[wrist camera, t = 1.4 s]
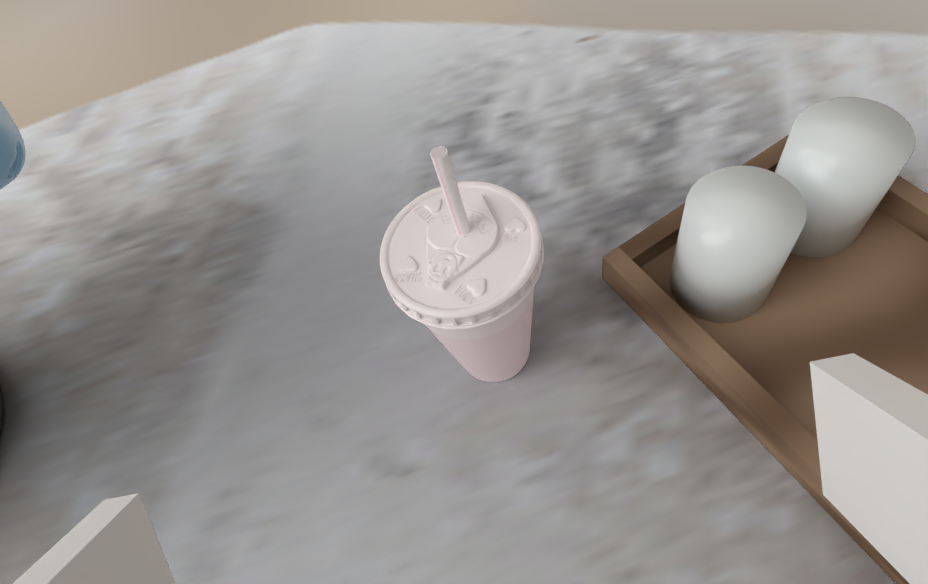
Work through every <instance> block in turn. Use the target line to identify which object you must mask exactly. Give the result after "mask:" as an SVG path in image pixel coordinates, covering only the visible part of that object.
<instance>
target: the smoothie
mask: <svg viewBox="0 0 928 584" xmlns="http://www.w3.org/2000/svg"><path fill="white" fill-rule="evenodd" d="M430 155H431V158H432V161H433V164H434V167H435V170H436V173H437V176H438V179H439V182H440V185H441V186H439V187H436V188H434V189H431V190H429V191H427V192H425V193H423V194H422V195H420V196H418V197H417V198H415V199H414V200H412V201H411V202H410V203H408V204H407V205H406V206H405V207H404V208H403V209H402V210H401V211H400V212H399V213H398V214H397V215H396V216H395V218H394V219H393V220H392V222H391V223H390V225H389V227H388V228H387V230H386V232H385V235H384V237H383V240H382V244H381V248H380V257H379V258H380V269H381V273H382V277H383V279H384V281H385V283H386V286H387V289H388V291H389V293H390V295H391V297H392V298H393V300H394V302H395V304H396V305H397V306H398V307H399V308H400V309H401V310H402V311H403V312H405V313H406V314H407V315H408V316H409V317H410V318H412V319H414V320H416V321H418V322H420V323H422V324H424V325H426V326H427V327H428V328H429V330H430V331H431V332H432V333H433V334H434V335H435V336H436V337H437V338H438V340H439V341H440V342H441V343H442V344H443V345H444V346H445V347H446V348H447V350H448V351H449V352H450V353H451V354H452V355H453V356H454V357H455V358H456V360H457V361H458V362H459V363H460V364H461V365H462V366H463V367H464V368H465V370H466V371H467V372H468V373H469V374H470V375H472V376H473V377H474V378H476V379H478V380H481V381H484V382H501V381H505V380H508V379H510V378H512V377H513V376H515V375H516V374H517V373H519V372H520V371H521V370H522V368H523V367H524V366H525V364H526V362H527V360H528V357H529V353H530V341H531V326H532V312H533V298H534V286H535V284H536V283H537V281H538V279H539V277H540V273H541V270H542V266H543V263H544V241H543V239H542V236H541V231H540V227H539V223H538V221H537V218H536V216H535V214H534V212H533V211H532V209H531V208H530V207H529V205H528V204H527V203H526V202H525V201H524V200H523V199H522V198H521V197H519V196H518V195H517V194H515V193H514V192H512V191H510V190H508V189H506V188H504V187H501V186H499V185H495V184H492V183H487V182H479V181H463V182H456V179H455V175H454V172H453V169H452V165H451V162H450V159H449V155H448V152H447V149H446V148H445V147H443V146H438V147H435V148H433V149H432V151H431V152H430Z"/></svg>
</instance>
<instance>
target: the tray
mask: <svg viewBox="0 0 928 584" xmlns="http://www.w3.org/2000/svg"><path fill="white" fill-rule="evenodd" d="M788 137H789V135H788V136H786V137H785V138H783V139H782V140H780V141H779V142H777V143H776V144H774V145H773V146H771V147H769V148H768V149H766V150H765V151H763V152H762V153H760V154H759V155H757V156H756V157H754V158H753V159H751V160H750V161H748V162H747V163H745V164H744V165H742V166H754V167H759V168H763V169H767V170H769V171H772V172H774V173H775V170H776V168H777V165H778V162H779V160H780V157H781V155H782V152H783V149H784V147H785V144H786V142H787V139H788ZM684 207H685V203H684V204H683V205H681V206H680V207H678V208H677V209H675V210H674V211H672V212H671V213H669V214H668V215H666V216H665V217H663V218H662V219H660V220H658V221H657V222H655V223H654V224H652V225H651V226H649V227H648V228H646V229H645V230H643V231H642V232H640V233H639V234H637V235H636V236H634V237H633V238H631V239H630V240H628V241H627V242H625V243H624V244H622V245H620V246H619V247H617V248H616V249H614V250H613V251H611V252H610V253H608V254H607V255H605V256H604V257H603V268H602V278H603V279H604V280H605V281H606V282H607V283H608V284H609V285H610V286H611V287H612V288H613V289H614V290H615V291H616V292H617V294H618V295H619V296H620V297H621V298H622V299H623V300H624V301H625V302H626V303H627V304H628V305H629V306H630V307H631V308H632V309H633V310H634V311H635V312H636V313H637V314H638V315H639V316H640V317H641V318H642V320H643V321H644V322H645V323H646V324H647V325H648V326H649V327H650V328H651V329H652V330H653V331H654V332H655V333H656V334H657V335H658V336H659V337H660V338H661V339H662V340H663V341H664V342H665V343H666V344H667V346H668V347H669V348H670V349H671V350H672V351H673V352H674V353H675V354H676V355H677V356H678V357H679V358H680V359H681V360H682V361H683V362H684V363H685V364H686V365H687V366H688V367H689V368H690V369H691V371H692V372H693V373H694V374H695V375H696V376H697V377H698V378H699V379H700V380H701V381H702V382H703V383H704V384H705V385H706V386H707V387H708V388H709V389H710V390H711V391H712V392H713V393H714V394H715V395H716V397H717V398H718V399H719V400H720V401H721V402H722V403H723V404H724V405H725V406H726V407H727V408H728V409H729V410H730V411H731V412H732V413H733V414H734V415H735V416H736V417H737V418H738V419H739V420H740V421H741V423H742V424H743V425H744V426H745V427H746V428H747V429H748V430H749V431H750V432H751V433H752V434H753V435H754V436H755V437H756V438H757V439H758V440H759V441H760V442H761V443H762V444H763V445H764V446H765V448H766V449H767V450H768V451H769V452H770V453H771V454H772V455H773V456H774V457H775V458H776V459H777V460H778V461H779V462H780V463H781V464H782V465H783V466H784V467H785V468H786V469H787V470H788V471H789V472H790V474H791V475H792V476H793V477H794V478H795V479H796V480H797V481H798V482H799V483H800V484H801V485H802V486H803V487H804V488H805V489H806V490H807V491H808V492H809V493H810V494H811V495H812V496H813V497H814V498H815V500H816V501H817V502H818V503H819V504H820V505H821V506H822V507H823V508H824V509H825V510H826V511H827V512H828V513H829V514H830V515H831V516H832V517H833V518H834V519H835V520H836V521H837V522H838V523H839V525H840V526H841V527H842V528H843V529H844V530H845V531H846V532H847V533H848V534H849V535H850V536H851V537H852V538H853V539H854V540H855V541H856V542H857V543H858V544H859V545H860V546H861V547H862V548H863V549H864V551H865V552H866V553H867V554H868V555H869V556H870V557H871V558H872V559H873V560H874V561H875V562H876V563H877V564H878V565H879V566H880V567H881V568H882V569H883V570H884V571H885V572H886V573H887V574H888V575H889V577H890V578H891V579H892V580H893V581H894V582H895V583H896V584H909V583H908V581H907V580H906V579H905V578H904V577H903V576H902V575H901V574H900V573H899V572H898V571H897V570H896V569H895V568H894V567H893V566H892V565H891V564H890V563H889V562H888V561H887V560H886V559H885V558H884V557H883V556H882V555H881V554H880V553H879V552H878V551H877V550H876V549H875V548H874V546H873V545H872V544H871V543H870V542H869V541H868V540H867V539H866V538H865V537H864V536H863V535H862V534H861V533H860V532H859V531H858V530H857V529H856V528H855V527H854V526H853V525H852V524H851V523H850V522H849V521H848V520H847V519H846V518H845V517H844V516H843V515H842V514H841V513H840V512H839V510H838V509H837V508H836V507H835V506H834V505H833V504H832V503H831V502H830V501H829V500H828V499H827V498H826V497H825V496H824V495H823V490H822V480H821V470H820V460H819V450H818V441H817V431H816V421H815V411H814V401H813V391H812V381H811V371H810V362H811V361H816V360H821V359H826V358H831V357H836V356H842V355H847V354H852V353H854V354H856V355H858V356H859V357H861V358H863V359H865V360H867V361H868V362H870V363H872V364H874V365H876V366H877V367H879V368H881V369H883V370H885V371H886V372H888V373H890V374H892V375H894V376H895V377H897V378H899V379H901V380H903V381H904V382H906V383H908V384H910V385H911V386H913V387H915V388H917V389H919V390H920V391H922V392H924V393H926V394H928V194H927V193H925V192H923V191H922V190H920V189H919V188H917V187H916V186H914V185H912V184H911V183H909V182H908V181H906V180H905V179H903V178H901V177H900V176H897V177H896V179H895V180H894V182H893V184H892V185H891V187H890V188H889V190H888V191H887V193H886V194H885V196H884V197H883V199H882V200H881V202H880V203H879V205H878V206H877V208H876V209H875V211H874V212H873V214H872V215H871V217H870V218H869V220H868V221H867V223H866V224H865V226H864V227H863V229H862V230H861V232H860V233H859V235H858V236H857V238H856V240H855V241H854V242H853V243H852V244H851V245H850V246H849V247H848V248H847V249H845V250H844V251H842V252H840V253H837V254H834V255H831V256H826V257H805V256H800V255H796V254H793V253H790V254H789V256H788V258H787V260H786V262H785V264H784V266H783V268H782V270H781V271H780V273H779V275H778V277H777V279H776V281H775V283H774V285H773V287H772V289H771V291H770V293H769V294H768V296H767V298H766V300H765V302H764V304H763V305H762V307H761V308H760V309H759V310H758V311H757V312H756V313H754V314H753V315H752V316H750V317H748V318H746V319H744V320H741V321H737V322H732V323H715V322H709V321H705V320H702V319H700V318H697V317H695V316H693V315H692V314H690V313H689V312H687V311H686V310H685V309H683V308H682V307H681V306H680V305H679V303H678V302H677V301H676V299H675V298H674V296H673V294H672V292H671V289H670V283H669V277H670V271H671V267H672V262H673V257H674V253H675V248H676V244H677V239H678V234H679V230H680V225H681V221H682V216H683V211H684Z"/></svg>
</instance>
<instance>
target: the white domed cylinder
mask: <svg viewBox="0 0 928 584" xmlns="http://www.w3.org/2000/svg"><path fill="white" fill-rule="evenodd" d="M914 148H915V135H914V131H913V129H912V127H911V125H910V124H909V123H908V121H907V120H906V119H905V118H904V117H903V116H902V115H901V114H899V113H898V112H897V111H895V110H893V109H892V108H890V107H888V106H886V105H884V104H881V103H879V102H876V101H872V100H868V99H863V98H856V97H839V98H831V99H826V100H823V101H820V102H817V103H815V104H813V105H811V106H809V107H807V108H806V109H805V110H803V111H802V112H801V113H800V114H799V115H798V117H797V118H796V119H795V122H794V124H793V126H792V129H791V131H790V134H789V137H788V139H787V142H786V144H785V147H784V149H783V152H782V155H781V157H780V160H779V162H778V165H777V168H776V170H775V173H776V174H778V175H780V176H782V177H784V178H785V179H787V180H788V181H789V182H790V183H792V184H793V185H794V186H795V187H796V188H797V190H798V191H799V192H800V194H801V195H802V197H803V199H804V202H805V205H806V211H807V215H806V222H805V225H804V227H803V229H802V231H801V233H800V235H799V237H798V239H797V241H796V243H795V245H794V247H793V249H792V250H791V252H790V253H793V254H796V255H800V256H805V257H826V256H831V255H834V254H837V253H840V252H842V251H844V250H845V249H847V248H848V247H849V246H850V245H851V244H852V243H853V242H854V241H855V240H856V238H857V236H858V235H859V233H860V232H861V230H862V229H863V227H864V226H865V224H866V223H867V221H868V220H869V218H870V217H871V215H872V214H873V212H874V211H875V209H876V208H877V206H878V205H879V203H880V202H881V200H882V199H883V197H884V196H885V194H886V193H887V191H888V190H889V188H890V187H891V185H892V184H893V182H894V180H895V179H896V177H897V176H898V174H899V173H900V171H901V170H902V168H903V167H904V165H905V164H906V162H907V161H908V159H909V158H910V156H911V155H912V153H913V150H914Z"/></svg>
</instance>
